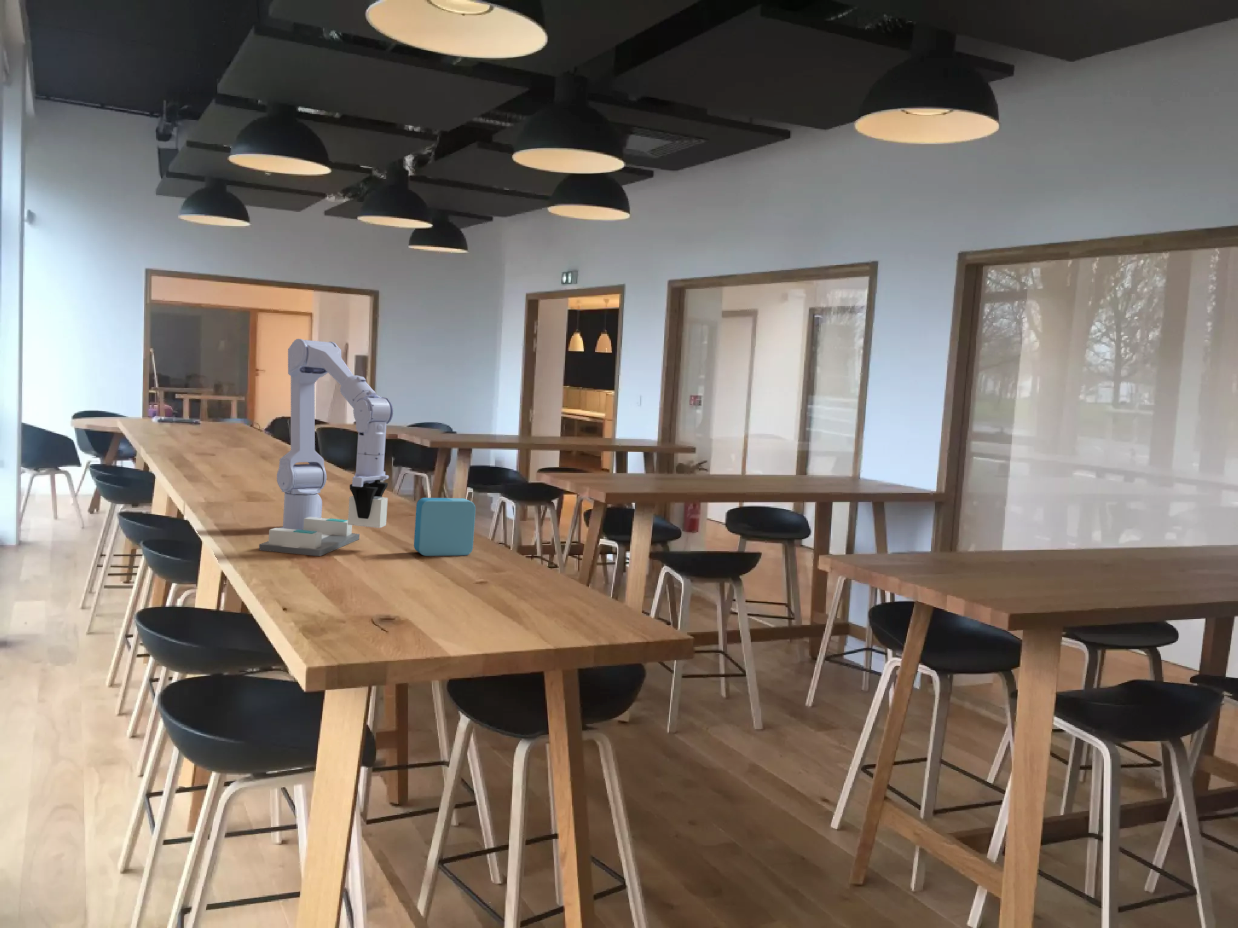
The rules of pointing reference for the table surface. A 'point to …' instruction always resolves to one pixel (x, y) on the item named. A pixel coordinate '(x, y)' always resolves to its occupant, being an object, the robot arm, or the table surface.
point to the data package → (444, 526)
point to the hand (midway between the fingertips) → (367, 516)
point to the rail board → (315, 552)
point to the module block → (376, 513)
